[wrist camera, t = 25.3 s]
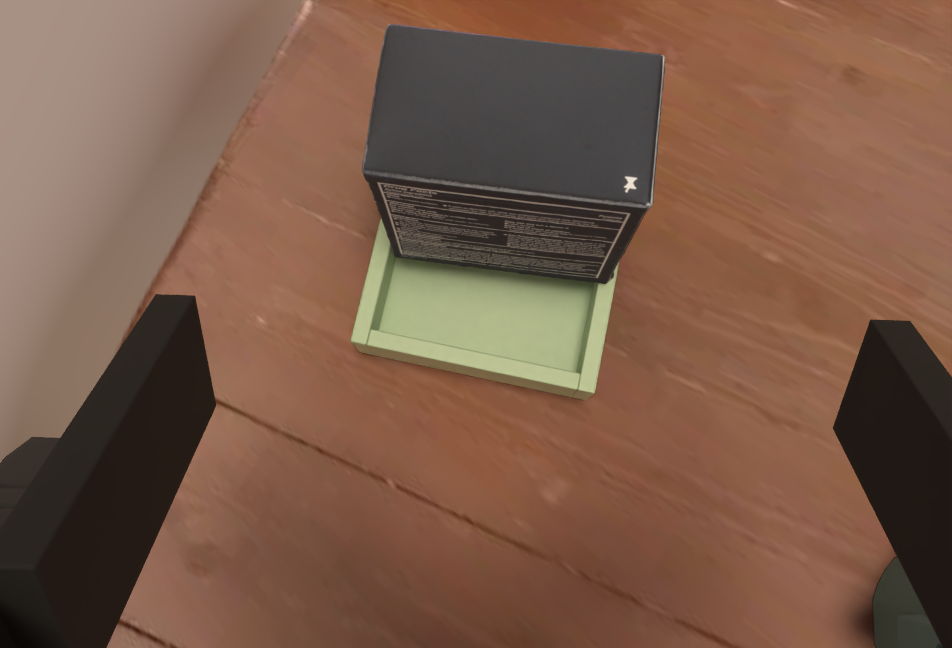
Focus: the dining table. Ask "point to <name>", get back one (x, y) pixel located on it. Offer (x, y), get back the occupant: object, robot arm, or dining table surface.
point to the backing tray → (484, 322)
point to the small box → (512, 151)
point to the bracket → (900, 613)
